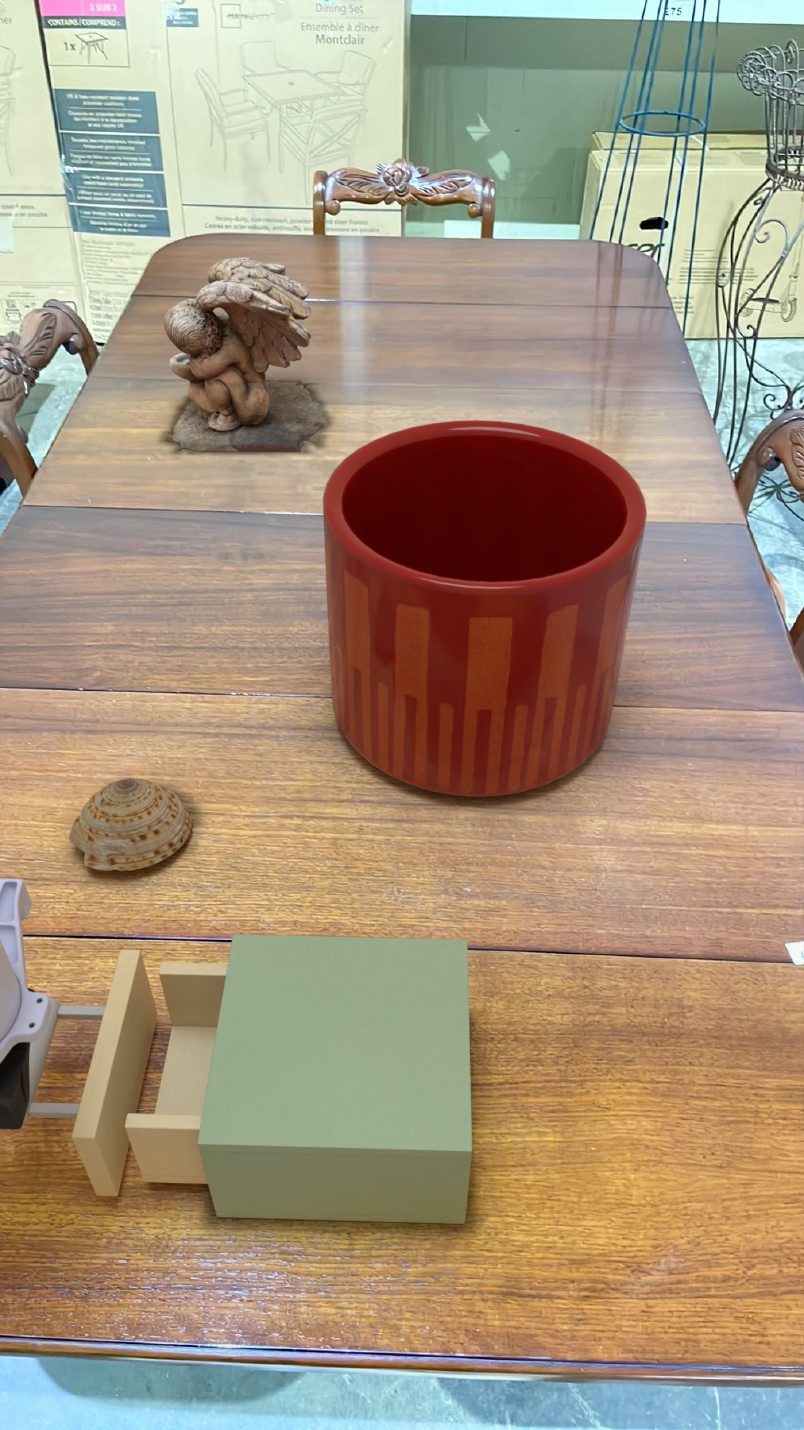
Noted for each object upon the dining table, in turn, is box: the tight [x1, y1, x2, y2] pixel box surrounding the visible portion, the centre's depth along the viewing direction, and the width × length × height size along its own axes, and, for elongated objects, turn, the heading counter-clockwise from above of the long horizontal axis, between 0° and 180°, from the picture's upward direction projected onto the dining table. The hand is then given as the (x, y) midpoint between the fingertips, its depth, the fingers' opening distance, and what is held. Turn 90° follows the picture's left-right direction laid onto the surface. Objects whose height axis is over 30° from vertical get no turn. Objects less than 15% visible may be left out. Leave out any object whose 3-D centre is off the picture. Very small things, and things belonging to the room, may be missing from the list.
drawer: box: [23, 949, 228, 1197], centre depth 61 cm, size 18×11×7 cm, turn 89°
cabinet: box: [197, 933, 473, 1225], centre depth 61 cm, size 14×13×9 cm
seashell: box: [68, 777, 193, 872], centre depth 78 cm, size 8×6×8 cm
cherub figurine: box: [163, 257, 326, 452], centre depth 122 cm, size 18×18×18 cm
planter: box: [322, 419, 648, 798], centre depth 83 cm, size 23×23×20 cm
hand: (4, 1115), depth 52 cm, fingers closed
